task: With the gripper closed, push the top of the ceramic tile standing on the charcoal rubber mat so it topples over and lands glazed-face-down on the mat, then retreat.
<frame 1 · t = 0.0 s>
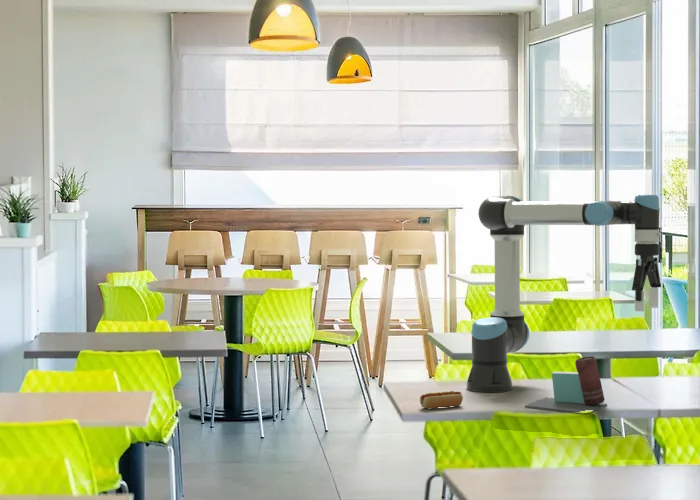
hand: (646, 309, 341), 28 cm above the table, fingers open, 13 cm apart
tile: (571, 401, 330), point 1 cm above the table, tilted 7°, touching can, mat
mat: (566, 406, 327), on the table
can: (594, 403, 326), point 1 cm above the table, touching mat, tile
food: (441, 408, 327), on the table
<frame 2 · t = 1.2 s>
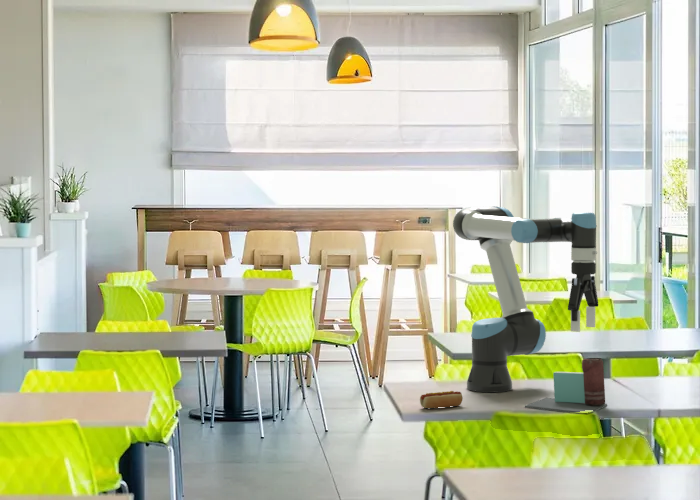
hand: (583, 329, 337), 22 cm above the table, fingers open, 12 cm apart
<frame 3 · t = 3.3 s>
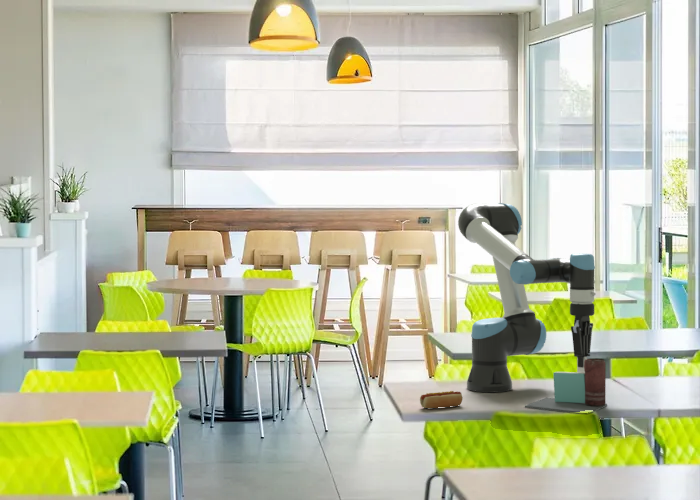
hand: (582, 377, 337), 7 cm above the table, fingers closed
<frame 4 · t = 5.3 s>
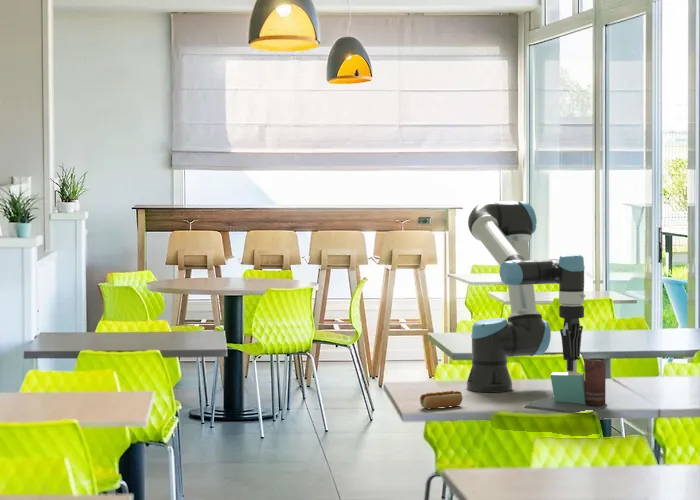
hand: (571, 380, 330), 7 cm above the table, fingers closed
tile: (571, 400, 330), point 1 cm above the table, tilted 16°, touching can, mat
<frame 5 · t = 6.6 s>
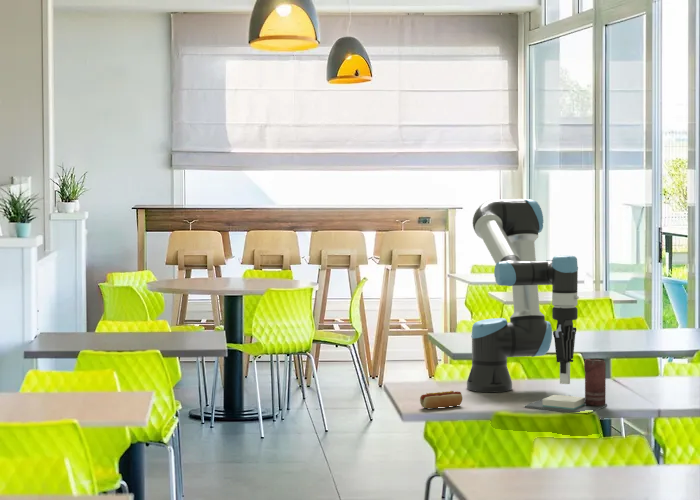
hand: (564, 383, 326), 7 cm above the table, fingers closed
tile: (569, 399, 329), point 2 cm above the table, tilted 90°, touching mat
can: (594, 405, 326), resting on mat
everything else where it was.
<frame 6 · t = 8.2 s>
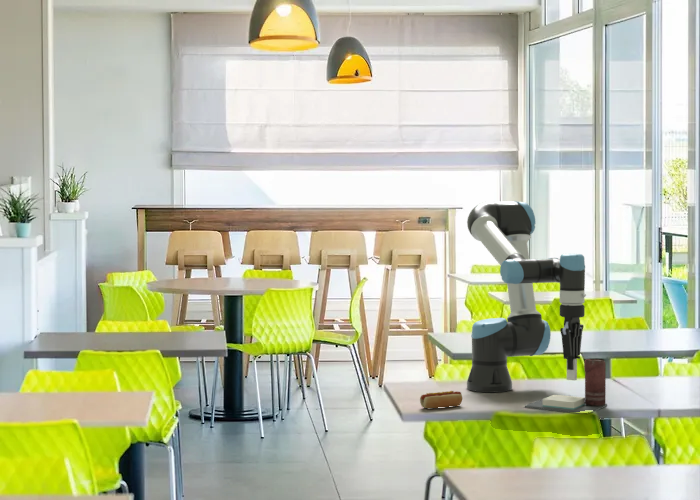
hand: (571, 379, 331), 8 cm above the table, fingers closed
nothing on the table moved.
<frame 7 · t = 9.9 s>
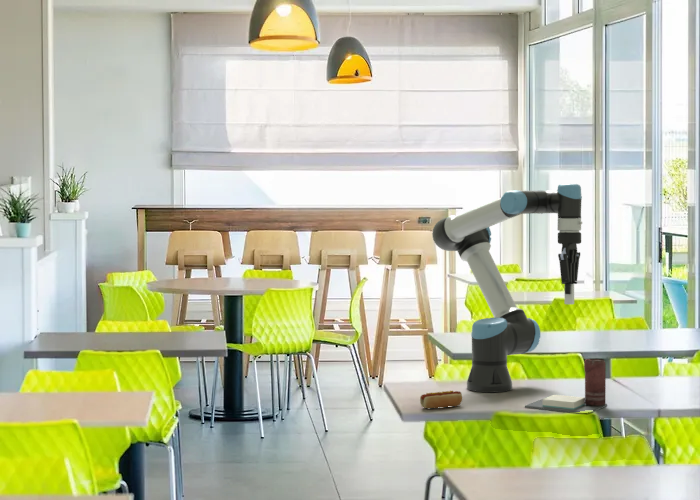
hand: (569, 303, 348), 29 cm above the table, fingers closed
nothing on the table moved.
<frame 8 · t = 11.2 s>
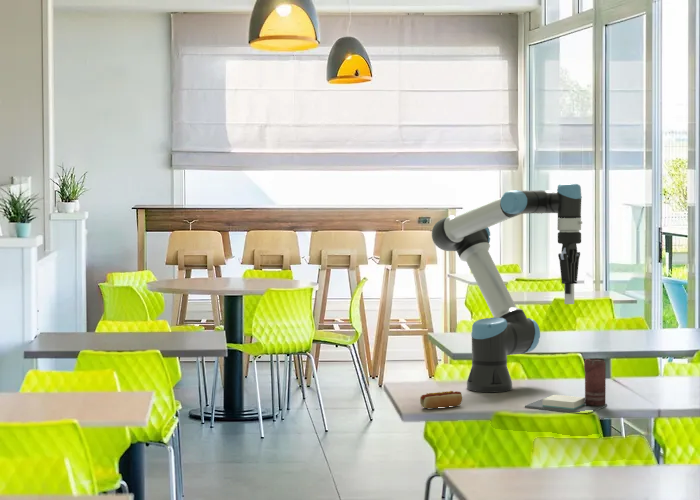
hand: (569, 303, 348), 29 cm above the table, fingers closed
nothing on the table moved.
at the end: tile tilted 90°; tile inside the target area (3.2 cm from its centre), point 1.7 cm above the table; the gripper is holding nothing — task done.
